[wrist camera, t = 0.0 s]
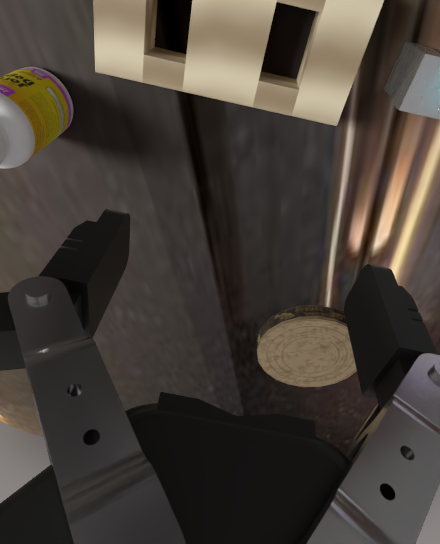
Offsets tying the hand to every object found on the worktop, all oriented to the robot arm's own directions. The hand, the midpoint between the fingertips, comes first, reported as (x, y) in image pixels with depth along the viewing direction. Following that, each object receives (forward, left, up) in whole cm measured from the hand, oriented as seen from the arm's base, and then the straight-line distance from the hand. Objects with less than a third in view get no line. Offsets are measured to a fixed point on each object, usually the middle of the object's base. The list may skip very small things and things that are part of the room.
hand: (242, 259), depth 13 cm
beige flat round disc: (+35, +17, -30) cm, 49 cm away
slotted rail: (-3, -3, -29) cm, 30 cm away
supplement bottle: (+7, -21, -30) cm, 37 cm away
